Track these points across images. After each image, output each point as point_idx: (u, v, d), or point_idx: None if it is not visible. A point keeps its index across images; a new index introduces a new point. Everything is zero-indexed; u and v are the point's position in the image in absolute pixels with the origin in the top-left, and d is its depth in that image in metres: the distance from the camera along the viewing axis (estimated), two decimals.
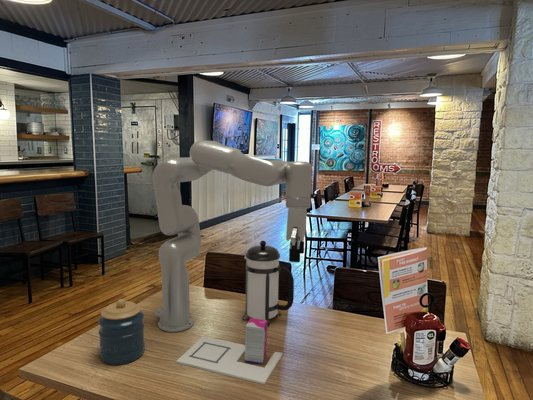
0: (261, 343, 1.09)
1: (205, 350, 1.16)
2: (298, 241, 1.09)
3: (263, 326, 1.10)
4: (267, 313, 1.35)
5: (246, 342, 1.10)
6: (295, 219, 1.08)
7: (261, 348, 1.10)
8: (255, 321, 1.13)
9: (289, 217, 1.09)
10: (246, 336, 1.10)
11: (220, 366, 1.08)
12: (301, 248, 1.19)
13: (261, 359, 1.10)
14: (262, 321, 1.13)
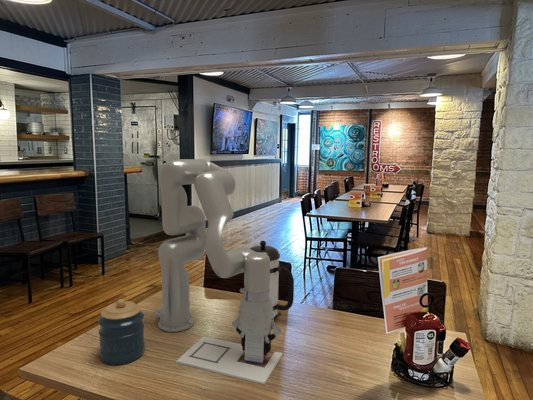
0: (261, 343, 1.09)
1: (205, 350, 1.16)
2: (270, 332, 1.12)
3: None
4: None
5: (246, 342, 1.10)
6: (271, 311, 1.10)
7: (261, 348, 1.10)
8: None
9: (269, 311, 1.08)
10: (246, 336, 1.10)
11: (220, 366, 1.08)
12: None
13: (261, 359, 1.10)
14: None
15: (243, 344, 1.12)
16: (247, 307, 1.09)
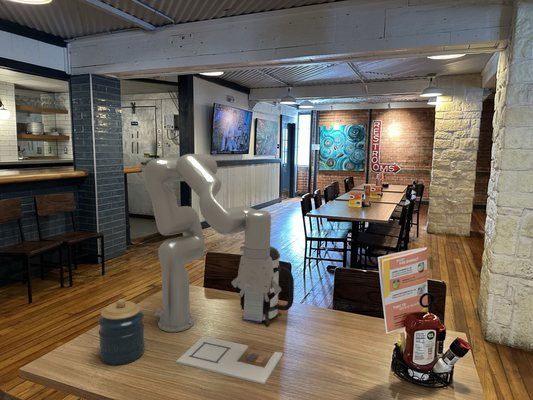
0: (260, 301, 1.08)
1: (205, 350, 1.16)
2: (269, 291, 1.10)
3: None
4: (267, 313, 1.35)
5: (245, 300, 1.09)
6: (272, 269, 1.08)
7: (260, 306, 1.08)
8: None
9: (269, 269, 1.06)
10: (245, 294, 1.09)
11: (220, 366, 1.08)
12: None
13: (260, 318, 1.09)
14: None
15: (242, 303, 1.11)
16: (247, 264, 1.08)
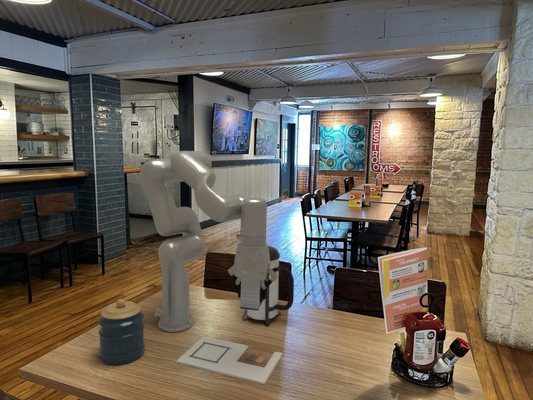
0: (257, 289, 1.07)
1: (205, 350, 1.16)
2: (266, 278, 1.10)
3: None
4: (267, 313, 1.35)
5: (242, 288, 1.08)
6: (268, 256, 1.08)
7: (257, 294, 1.08)
8: None
9: (265, 256, 1.06)
10: (242, 282, 1.08)
11: (220, 366, 1.08)
12: None
13: (257, 305, 1.08)
14: None
15: (239, 291, 1.11)
16: (243, 252, 1.07)
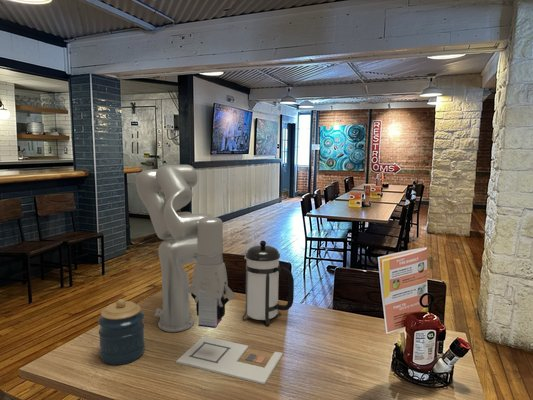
0: (214, 307, 1.10)
1: (205, 350, 1.16)
2: (224, 296, 1.12)
3: None
4: (267, 313, 1.35)
5: (199, 306, 1.11)
6: (224, 274, 1.10)
7: (214, 312, 1.10)
8: None
9: (221, 275, 1.08)
10: (199, 300, 1.10)
11: (220, 366, 1.08)
12: None
13: (214, 323, 1.10)
14: None
15: (197, 309, 1.13)
16: (200, 270, 1.10)
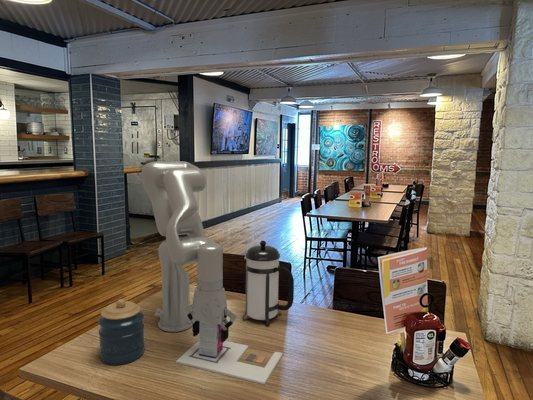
0: (214, 337, 1.11)
1: None
2: (226, 319, 1.13)
3: None
4: (267, 313, 1.35)
5: (200, 336, 1.12)
6: (224, 300, 1.11)
7: (214, 342, 1.11)
8: None
9: (221, 301, 1.10)
10: (200, 330, 1.12)
11: (220, 366, 1.08)
12: (199, 328, 1.17)
13: (214, 353, 1.12)
14: None
15: (194, 330, 1.15)
16: (200, 296, 1.11)
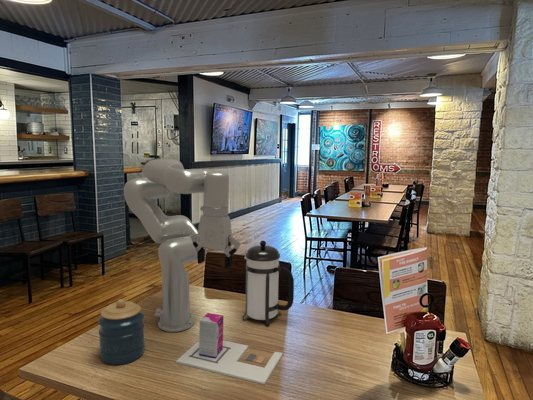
0: (214, 337, 1.11)
1: None
2: (230, 247, 1.15)
3: (216, 321, 1.11)
4: (267, 313, 1.35)
5: (200, 336, 1.12)
6: (229, 227, 1.13)
7: (214, 342, 1.11)
8: (210, 316, 1.15)
9: (225, 227, 1.11)
10: (200, 330, 1.12)
11: (220, 366, 1.08)
12: (203, 256, 1.19)
13: (214, 353, 1.12)
14: (217, 316, 1.14)
15: (198, 257, 1.17)
16: (205, 222, 1.13)
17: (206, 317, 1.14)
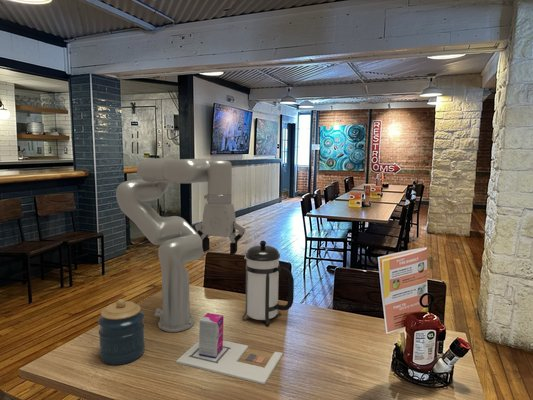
0: (214, 337, 1.11)
1: None
2: (235, 234, 1.18)
3: (216, 321, 1.12)
4: (267, 313, 1.35)
5: (200, 336, 1.12)
6: (233, 214, 1.16)
7: (214, 342, 1.11)
8: (210, 316, 1.15)
9: (230, 213, 1.14)
10: (200, 330, 1.12)
11: (220, 366, 1.08)
12: (208, 245, 1.21)
13: (214, 353, 1.12)
14: (217, 316, 1.14)
15: (203, 245, 1.19)
16: (210, 210, 1.15)
17: (206, 317, 1.14)
